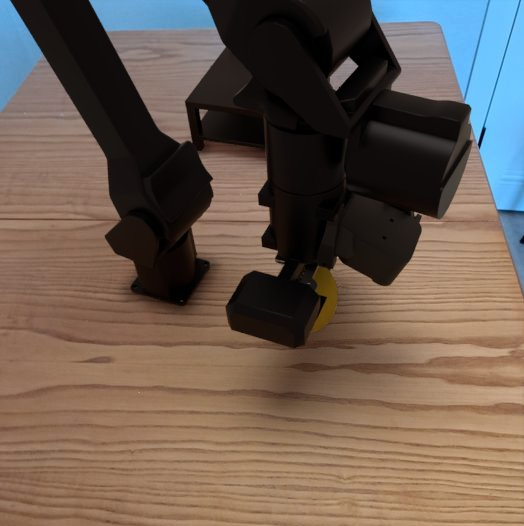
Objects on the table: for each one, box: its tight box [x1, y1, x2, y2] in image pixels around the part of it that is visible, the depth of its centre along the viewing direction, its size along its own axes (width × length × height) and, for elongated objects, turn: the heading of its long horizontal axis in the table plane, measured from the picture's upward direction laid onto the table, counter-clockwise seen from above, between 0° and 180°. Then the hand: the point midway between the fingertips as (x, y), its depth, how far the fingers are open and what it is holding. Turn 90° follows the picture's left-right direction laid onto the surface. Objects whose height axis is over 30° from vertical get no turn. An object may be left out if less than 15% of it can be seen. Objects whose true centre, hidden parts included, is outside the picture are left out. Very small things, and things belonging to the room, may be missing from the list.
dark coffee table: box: [184, 46, 331, 152], centre depth 74 cm, size 16×14×8 cm
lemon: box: [298, 266, 339, 333], centre depth 51 cm, size 6×6×8 cm
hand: (306, 313), depth 53 cm, fingers closed on lemon, 5 cm apart
